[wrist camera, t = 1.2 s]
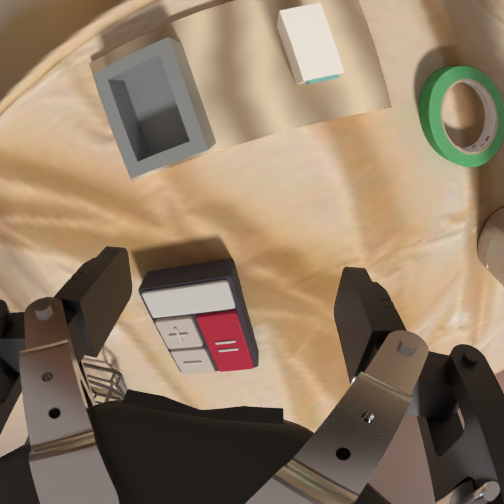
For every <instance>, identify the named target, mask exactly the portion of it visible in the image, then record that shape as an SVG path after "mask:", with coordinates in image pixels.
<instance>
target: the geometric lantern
mask: <svg viewBox="0 0 504 504" xmlns="http://www.w3.org/2000/svg"><path fill="white" fill-rule="evenodd" d="M83 365H84V364H83ZM84 367H88V368H92V369H97V370H101V371H106V372H110V373H113V375H112V377H111V379H110V380H106V379H102V378H98V377H94V376H91V375H87V374H86V375H87V377H90V378H94V379H97V380H101V381H105V382H109V383H111V385H110V386H106V385H103V384H100V383H97V382H95V381H92V380H89V379H88V381H89V383H91V384H94V385H96V386H99V387H102V388H105V389H108V390H109V392H108V394H107V396H106V395H102V394H97V393H96V392H94V391H92V393H94V394H95V396H94V399H95V398H96V396H97V395H98V396H102V397H106V399H105V402H108V401H109V399H110V398H111V399H115V400H124V399H123V398H124V397H125V393H124V392H123V391H122V390H121V388H120V387H119V386H118V383H119V381H120V378H121V380H122V382H123V385H124V388H125V391H126V392H127V388H126V385H125V382H124V379H123V376H122V375H121V374H119V373H118V372H116V371H111V370H106V369H102V368H97V367H93V366H88V365H84ZM115 374H117V375H119V376H121V377H118V380H117V382H116V383H115V382H113V381H112V380H113V378H114V376H115ZM113 384H114V385H115V386H116V388H117V390H116V389H114V388H112V387H113ZM112 391H113V392H114V393H116V394H118V395H119V396H120V398H121V399H119V398H115V397H110V396H111V394H112ZM122 397H123V398H122ZM95 402H96V403H98V404H100V403H101V402H97V401H95ZM28 442H30V440H29V435H28V438H27V440H26V442H25V444H26V443H28Z"/></svg>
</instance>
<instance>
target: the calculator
mask: <svg viewBox="0 0 504 504" xmlns="http://www.w3.org/2000/svg"><path fill="white" fill-rule="evenodd" d="M138 291H139V294H140V296H141V298H142V300H143V302H144V304H145V306H146V308H147V310H148V312H149V314H150V316H151V318H152V320H153V322H154V324H155V326H156V328H157V330H158V332H159V334H160V335H161V337H162V339H163V341H164V343H165V345H166V347H167V349H168V350H169V352H170V354H171V356H172V358H173V359H174V361H175V363H176V365H177V367H178V368H179V370H180V372H182V373H183V374H195V373H210V372H215V371H221V372H223V371H234V370H244V369H253V368H254V367H257V366H258V354H259V351H258V347H257V344H256V340H255V337H254V333H253V329H252V326H251V322H250V319H249V315H248V312H247V308H246V305H245V301H244V298H243V294H242V289H241V285H240V281H239V277H238V274H237V270H236V266H235V263H234V260H232V259H225V260H219V261H213V262H207V263H200V264H194V265H188V266H182V267H176V268H170V269H164V270H158V271H152V272H148V273H147V274H146V276H145V278H144V280H143V282H142V284H141V286H140V288H139V290H138Z"/></svg>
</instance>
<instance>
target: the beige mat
mask: <svg viewBox="0 0 504 504" xmlns="http://www.w3.org/2000/svg"><path fill="white" fill-rule="evenodd" d="M316 3H321V6H322V8H323V11H324V14H325V16H326V19H327V22H328V24H329V27H330V30H331V33H332V36H333V39H334V42H335V44H336V47H337V51H338V54H339V57H340V60H341V63H342V66H343V70H344V73H342V74H339V77H340V78H336V79H333V80H328V81H323V82H318V83H314V84H309V85H305V83H302V84H298V85H296V83H295V80H294V77H293V74H292V71H291V68H290V65H289V62H288V59H287V56H286V53H285V50H284V47H283V44H282V41H281V39H280V36H279V33H278V30H277V21H278V15H279V11H280V10H284V9H289V8H294V7H299V6H305V5H310V4H316ZM167 37H170V38H172V39H173V40H175V41H177V42H178V43H180V44H182V45H183V48H184V51H185V54H186V57H187V60H188V62H189V65H190V68H191V71H192V74H193V77H194V80H195V82H196V85H197V88H198V91H199V94H200V97H201V100H202V103H203V105H204V108H205V111H206V114H207V117H208V120H209V123H210V126H211V128H212V131H213V134H214V137H215V140H216V144H215V145H213V146H212V147H211V148H210V149H209V150H207V151H204V152H201V153H198V154H196V155H193V156H190V157H187V158H184V159H181V160H179V161H176V162H173V163H170V164H168V165H165V166H163V167H160V168H157V169H155V170H152V171H150V172H147V173H144V174H142V175H139V176H137V177H135V178H132V179H131V178H130V179H131V181H132V182H134V181H136V180H139V179H141V178H144V177H146V176H149V175H152V174H154V173H157V172H159V171H162V170H165V169H167V168H170V167H173V166H176V165H178V164H181V163H184V162H187V161H190V160H192V159H195V158H198V157H201V156H204V155H207V154H210V153H213V152H216V151H219V150H222V149H225V148H228V147H232V146H235V145H238V144H241V143H245V142H248V141H251V140H255V139H258V138H262V137H265V136H269V135H272V134H276V133H279V132H283V131H287V130H291V129H295V128H298V127H302V126H306V125H310V124H314V123H319V122H323V121H327V120H332V119H336V118H340V117H345V116H350V115H355V114H359V113H364V112H370V111H375V110H380V109H386V108H391V104H390V100H389V95H388V91H387V88H386V84H385V80H384V76H383V73H382V69H381V66H380V62H379V59H378V55H377V52H376V49H375V46H374V43H373V40H372V37H371V34H370V31H369V28H368V25H367V22H366V19H365V16H364V14H363V11H362V8H361V6H360V3H359V1H358V0H234V1H231V2H227V3H224V4H221V5H218V6H215V7H212V8H209V9H206V10H203V11H200V12H197V13H194V14H192V15H189V16H186V17H184V18H181V19H179V20H176V21H174V22H171V23H169V24H166V25H164V26H162V27H159V28H157V29H155V30H153V31H150V32H148V33H146V34H144V35H142V36H140V37H138V38H135V39H133V40H131V41H129V42H127V43H125V44H123V45H122V46H120V47H118V48H116V49H114V50H112V51H110V52H108V53H107V54H105V55H103V56H101V57H99V58H98V59H96V60H94V61H93V62H91V63H89V64H90V67H91V71H92V74H95V73H96V72H98V71H100V70H102V69H103V68H105V67H107V66H109V65H111V64H113V63H115V62H116V61H118V60H120V59H122V58H124V57H126V56H128V55H130V54H132V53H134V52H136V51H138V50H140V49H143V48H145V47H147V46H149V45H151V44H153V43H156V42H158V41H160V40H163V39H165V38H167ZM93 77H94V76H93ZM94 80H95V79H94ZM95 83H96V82H95ZM96 86H97V85H96ZM97 89H98V88H97ZM98 92H99V91H98ZM99 95H100V94H99ZM100 98H101V97H100ZM101 101H102V100H101ZM102 104H103V103H102ZM103 107H104V106H103ZM104 110H105V109H104ZM105 113H106V112H105ZM107 118H108V117H107ZM108 121H109V120H108ZM109 124H110V123H109ZM110 127H111V126H110ZM111 129H112V128H111ZM112 132H113V131H112ZM113 135H114V134H113ZM115 140H116V139H115ZM116 143H117V142H116ZM118 148H119V147H118ZM119 151H120V150H119ZM120 153H121V152H120ZM121 156H122V155H121ZM123 161H124V160H123ZM124 164H125V163H124ZM125 166H126V165H125ZM126 169H127V168H126ZM127 171H128V170H127ZM128 174H129V173H128ZM129 176H130V175H129Z"/></svg>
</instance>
